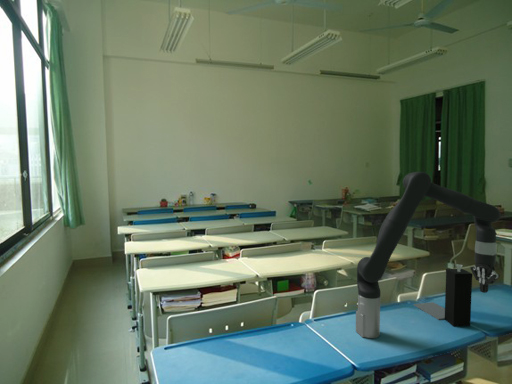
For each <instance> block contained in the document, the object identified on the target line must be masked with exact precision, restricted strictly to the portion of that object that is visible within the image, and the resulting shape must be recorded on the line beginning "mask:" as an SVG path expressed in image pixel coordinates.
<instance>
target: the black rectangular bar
mask: <svg viewBox="0 0 512 384" xmlns="http://www.w3.org/2000/svg"><path fill="white" fill-rule="evenodd" d="M455 267H456V268H445V293H444V294H445V296H444V298H445V299H444V308H445V319H444V320H445V321H446V322H447V323H448V324H450V325H451V326H453V327H471V317H472V313H471V312H472V292H473V291H472V290H473V289H472V288H473V273H472V272H470V271H467V270H466V269H464V268H463V264H458V263H456V264H455Z"/></svg>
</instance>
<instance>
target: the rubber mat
mask: <svg viewBox="0 0 512 384" xmlns="http://www.w3.org/2000/svg"><path fill="white" fill-rule="evenodd" d="M413 306H414V307H416V308H418V309H419V310H421V311H423V312H425V313H426V314H428V315H429V316H431V317H434V318H435V319H437V320H438V321H443V320H445V307H443V306H441V305H439V304H437V303H435V302H434V301H433V302H432V301H431V302H424V303H423V302H422V303H413Z"/></svg>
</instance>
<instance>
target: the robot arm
mask: <svg viewBox="0 0 512 384" xmlns="http://www.w3.org/2000/svg"><path fill="white" fill-rule="evenodd" d="M402 186H403V189H405V190H404V193H403V195H402V197H401V198H400V200H399V201H398V202H397V203H396V204H395V206H394V207H392V209H391V210H390V211H389V212H388V213H387V215H386V217H385V218H384V220H383V222H382V224H381V225H380V227H379V232H378V235H377V240H376V244H375V247H374V249H373V251H372V253H371V254H370V256H365V257H363V258H361V259H360V260H359V261H358V262H357V265H356V266H357V267H356V286H357V298H358V299H357V310H355V332H356V333H357V334H358V335H359V336H360V337H361V338H367V339H376V338H378V337H380V331H381V329H380V328H381V288H380V285H379V281H380V280H381V279H382V277H383V275H384V273H385V271H386V269H387V266H388V263H389V262H390V261H389V260H390V258H391V256H392V254H393V253H394V251H395V249H396V248H397V246H398V244H399V242H400V241H401V239H402V237H403V235H404V233H405V231H407V230H406V229H408V227H409V224H410V222H411V220H412V219H413V217H414V214H415V212H416V210H417V208H418V207H419V205H420V203H421V202H422V200H423V199H424V197H427V198H429V199H433V200H436V201H437V202H440V203H442V204H444V205H446V206H448V207H450V208H452V209H455V210H456V211H460V212H462V213H463V214H468V215H472V216H473V221H474V227H475V244H474V261H473V262H474V263H475V264H474V266H470V268H469V269H470V271H471V273H472V276H474V279H475V281H477V282H478V283H479V291H480V292H481V293H483V294H486V293H488V292H489V285H493V284H494V283H496V281H497V280H498V279H499V278H500V277H501V275H500V274H499V273H497V272H496V268H495V265H496V264H497V230H496V228H494V227H493V226H492V225H493V224H492V223H496V222H498V220H500V218H501V214H502V213H501V211H500V209H499V208H498V207H496V206H494V205H493V204H489V203H487V202H484V201H480V200H478V199H475V198H474V197H471V196H469V195H467V194H464V193H463V192H460V191H458V190H457V191H456V190H454V189H450V188H448V187H444V186H441V185H439V184H436V183H434V182H432V178H431V176H430V175H429V174H428V173H427V172H424V171H412V172H409V173H407V174H406V175H405V176H404V177H403V179H402Z"/></svg>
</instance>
